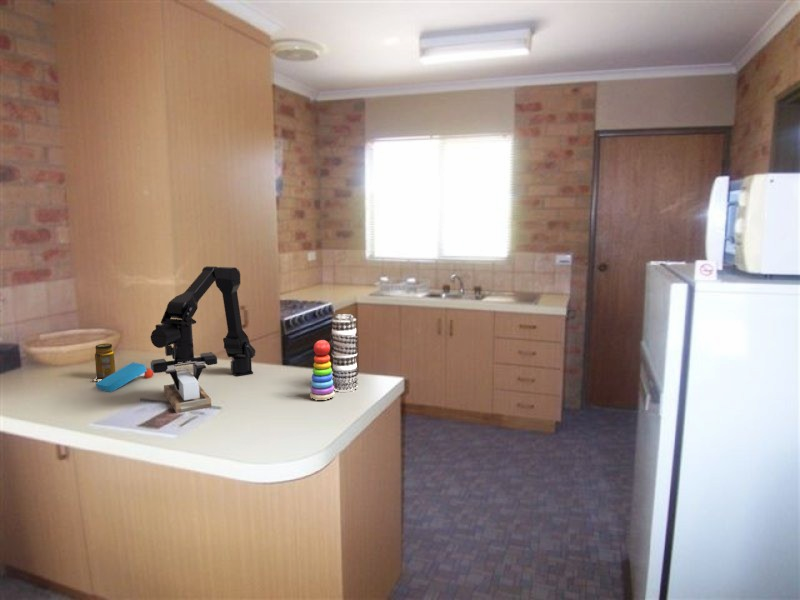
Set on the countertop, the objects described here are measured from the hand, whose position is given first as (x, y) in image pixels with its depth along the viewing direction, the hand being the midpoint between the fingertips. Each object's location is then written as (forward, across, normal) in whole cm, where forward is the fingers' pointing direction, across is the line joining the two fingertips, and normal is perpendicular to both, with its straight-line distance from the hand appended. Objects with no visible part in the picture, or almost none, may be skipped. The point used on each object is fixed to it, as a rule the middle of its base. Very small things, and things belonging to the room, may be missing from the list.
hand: (186, 388), depth 172 cm
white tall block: (+1, 0, 0) cm, 1 cm away
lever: (+4, +14, -28) cm, 32 cm away
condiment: (+4, +20, -39) cm, 44 cm away
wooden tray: (+4, 0, 0) cm, 4 cm away
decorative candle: (+4, -47, +17) cm, 50 cm away
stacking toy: (+4, -37, +21) cm, 43 cm away
